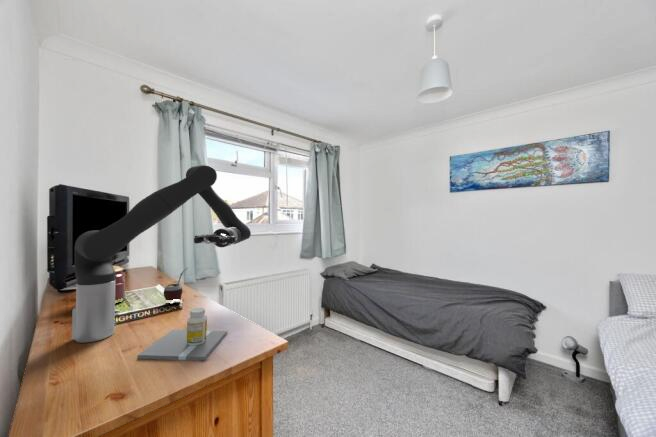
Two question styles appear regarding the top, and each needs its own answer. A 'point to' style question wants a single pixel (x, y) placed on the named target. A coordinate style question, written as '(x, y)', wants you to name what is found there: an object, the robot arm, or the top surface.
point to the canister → (119, 283)
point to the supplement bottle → (196, 327)
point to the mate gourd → (173, 290)
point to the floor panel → (182, 346)
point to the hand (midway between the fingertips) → (207, 240)
